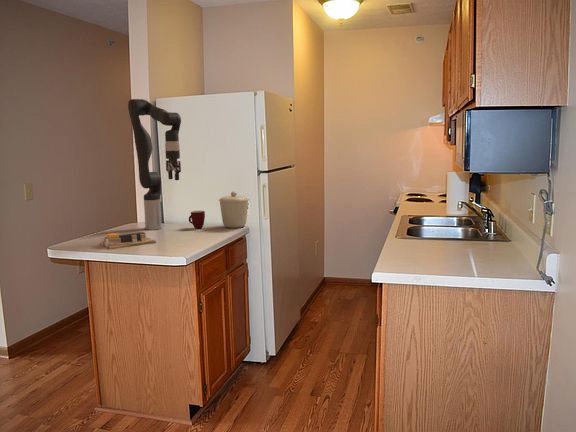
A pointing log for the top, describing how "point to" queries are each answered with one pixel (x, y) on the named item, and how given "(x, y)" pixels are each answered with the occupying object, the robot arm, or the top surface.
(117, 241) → the board
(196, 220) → the mug
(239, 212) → the canister
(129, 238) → the grey and orange bar
